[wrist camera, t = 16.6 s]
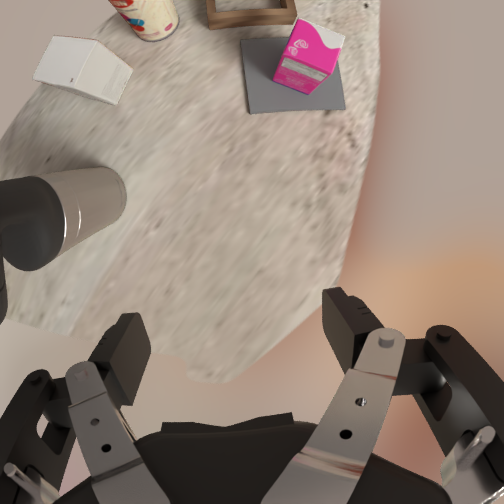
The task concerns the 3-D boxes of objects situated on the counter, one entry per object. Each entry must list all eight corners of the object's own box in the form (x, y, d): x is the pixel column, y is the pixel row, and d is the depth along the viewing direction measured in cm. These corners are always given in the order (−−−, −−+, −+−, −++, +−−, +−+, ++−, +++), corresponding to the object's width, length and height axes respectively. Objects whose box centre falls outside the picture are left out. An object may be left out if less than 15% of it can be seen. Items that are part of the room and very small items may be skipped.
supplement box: (282, 49, 33) (299, 15, 22) (320, 64, 34) (349, 36, 23) (269, 81, 34) (282, 53, 23) (308, 96, 35) (335, 75, 24)
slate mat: (250, 114, 36) (250, 113, 36) (240, 41, 33) (240, 39, 32) (344, 109, 37) (345, 109, 36) (332, 40, 33) (333, 39, 32)
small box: (135, 69, 33) (99, 39, 20) (117, 106, 34) (73, 89, 22) (94, 60, 31) (52, 34, 19) (78, 95, 33) (30, 80, 21)
